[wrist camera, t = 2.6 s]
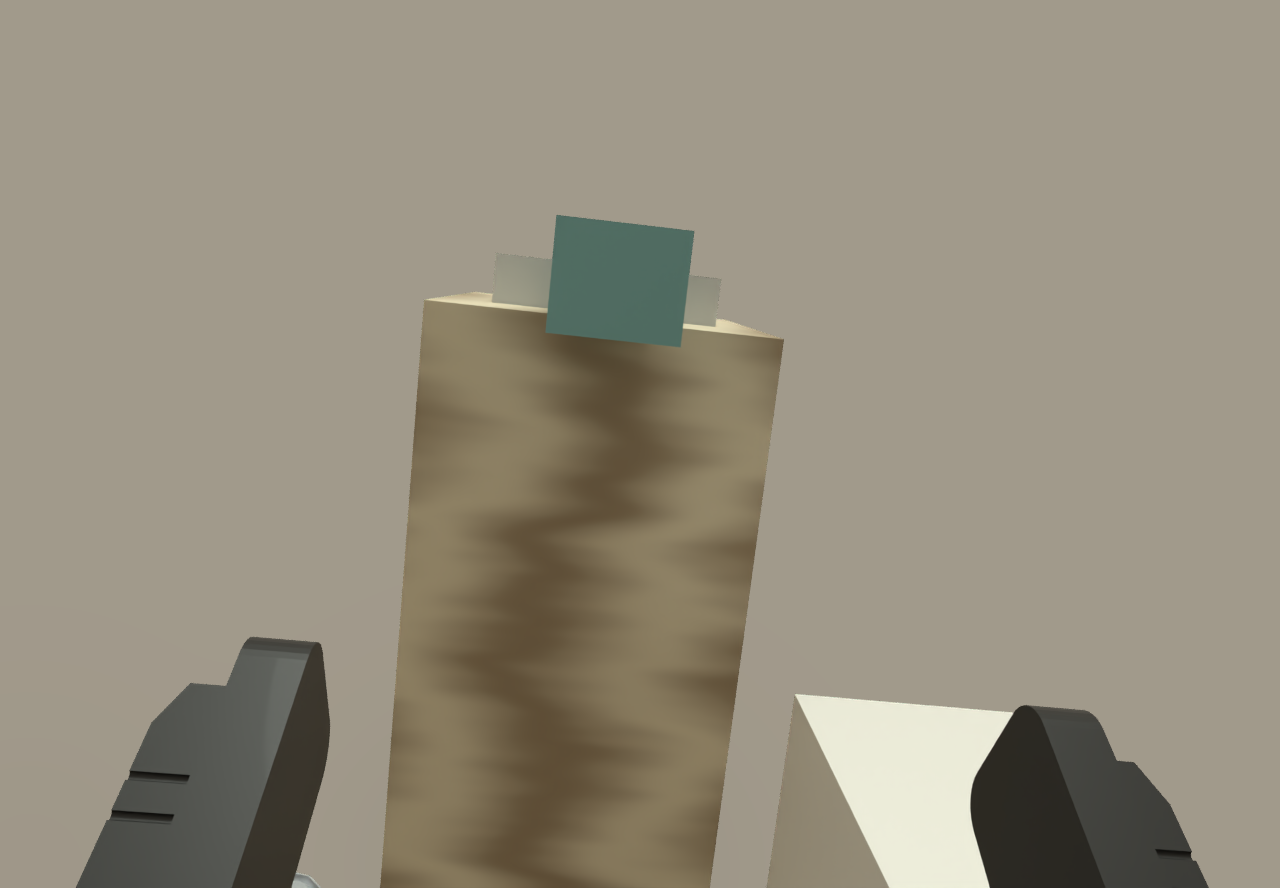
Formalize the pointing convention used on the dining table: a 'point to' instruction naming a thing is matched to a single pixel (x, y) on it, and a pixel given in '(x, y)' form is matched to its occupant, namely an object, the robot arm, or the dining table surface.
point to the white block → (880, 795)
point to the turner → (612, 282)
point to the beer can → (304, 881)
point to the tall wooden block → (572, 600)
